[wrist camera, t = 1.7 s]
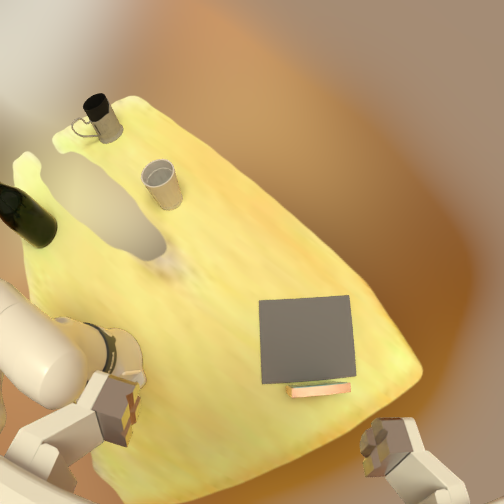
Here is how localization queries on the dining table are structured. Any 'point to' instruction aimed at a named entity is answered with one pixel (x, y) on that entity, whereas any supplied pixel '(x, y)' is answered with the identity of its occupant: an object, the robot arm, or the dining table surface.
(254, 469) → the dining table surface
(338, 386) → the tile
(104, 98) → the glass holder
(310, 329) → the mat
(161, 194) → the cup
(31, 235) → the dark green bottle
